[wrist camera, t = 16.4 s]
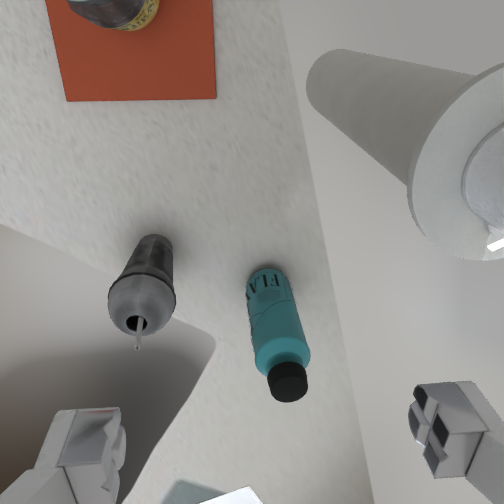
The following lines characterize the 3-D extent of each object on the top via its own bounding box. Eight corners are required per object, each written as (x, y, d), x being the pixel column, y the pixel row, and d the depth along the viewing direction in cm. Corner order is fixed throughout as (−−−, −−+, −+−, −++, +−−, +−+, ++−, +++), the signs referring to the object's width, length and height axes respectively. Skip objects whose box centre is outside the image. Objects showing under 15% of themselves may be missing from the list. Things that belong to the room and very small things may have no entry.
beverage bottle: (278, 254, 57) (308, 357, 39) (295, 289, 60) (330, 399, 42) (235, 272, 57) (246, 381, 40) (254, 306, 61) (272, 421, 43)
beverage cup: (115, 250, 54) (70, 358, 37) (151, 214, 52) (120, 310, 35) (158, 281, 57) (135, 395, 40) (194, 248, 55) (185, 353, 38)
